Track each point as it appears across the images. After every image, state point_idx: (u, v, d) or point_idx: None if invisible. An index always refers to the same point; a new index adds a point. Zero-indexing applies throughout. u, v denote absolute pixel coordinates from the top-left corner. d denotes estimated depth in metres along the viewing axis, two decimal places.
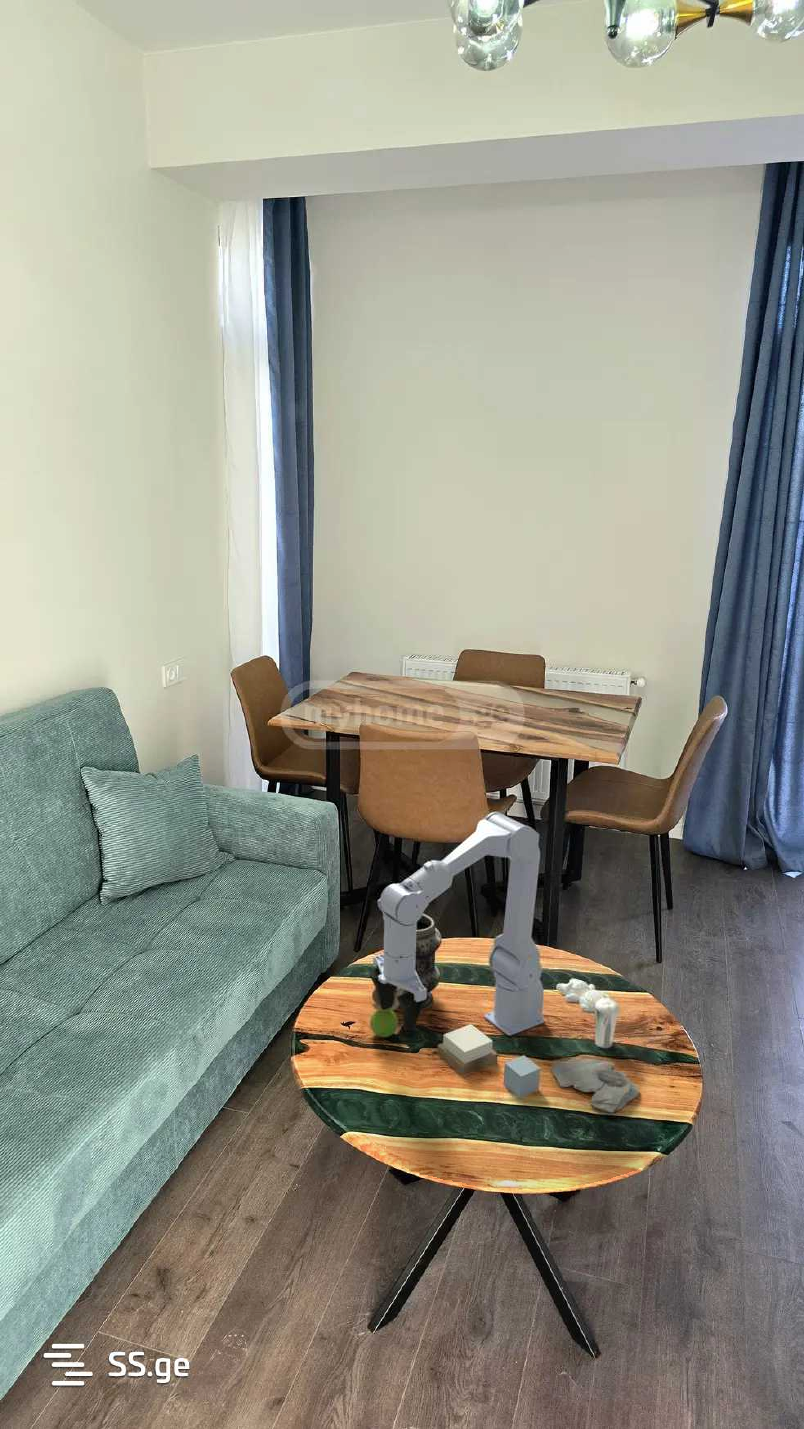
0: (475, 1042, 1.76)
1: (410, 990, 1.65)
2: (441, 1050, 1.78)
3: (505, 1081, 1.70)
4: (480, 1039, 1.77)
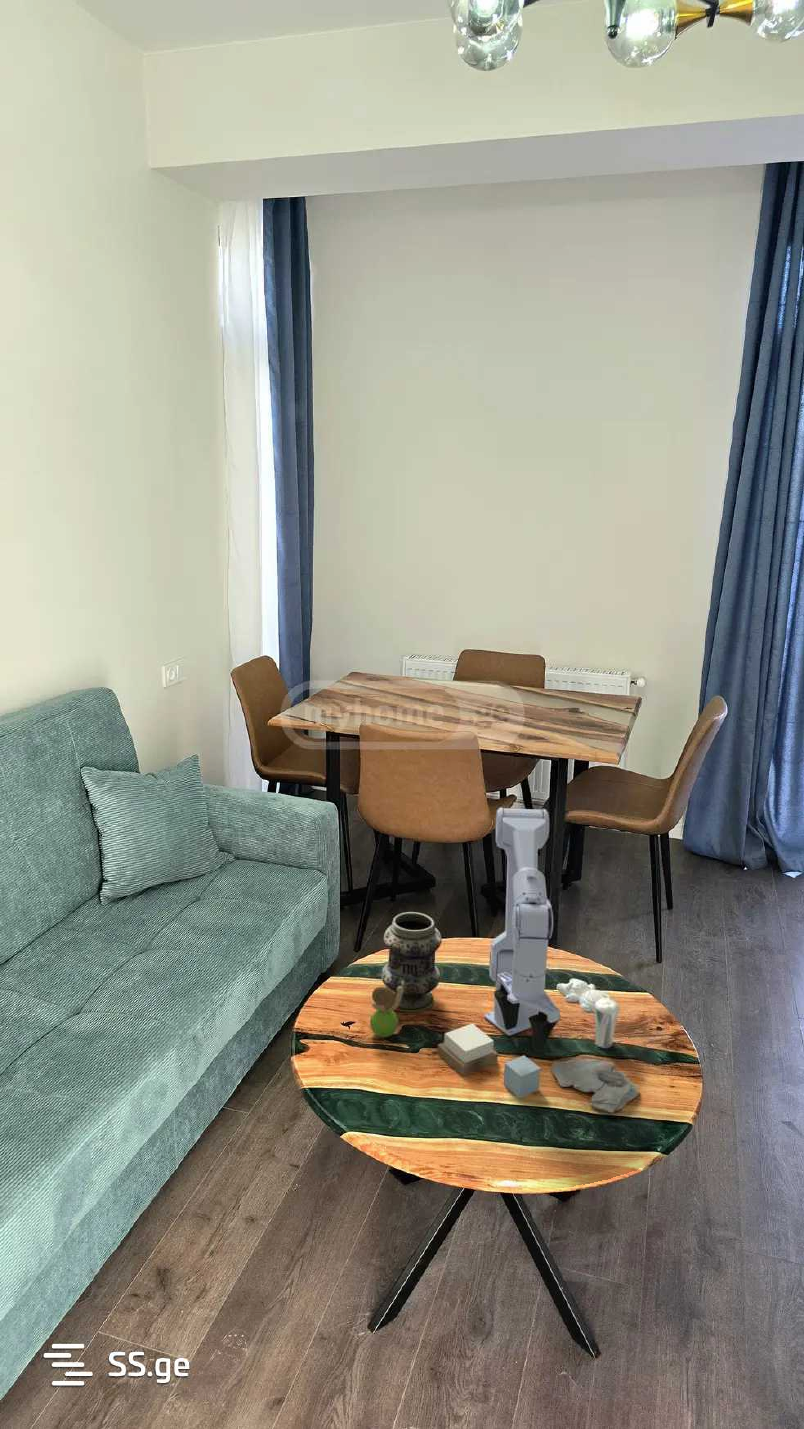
0: (476, 1041, 1.76)
1: (543, 1010, 1.61)
2: (441, 1050, 1.78)
3: (505, 1081, 1.70)
4: (481, 1039, 1.77)
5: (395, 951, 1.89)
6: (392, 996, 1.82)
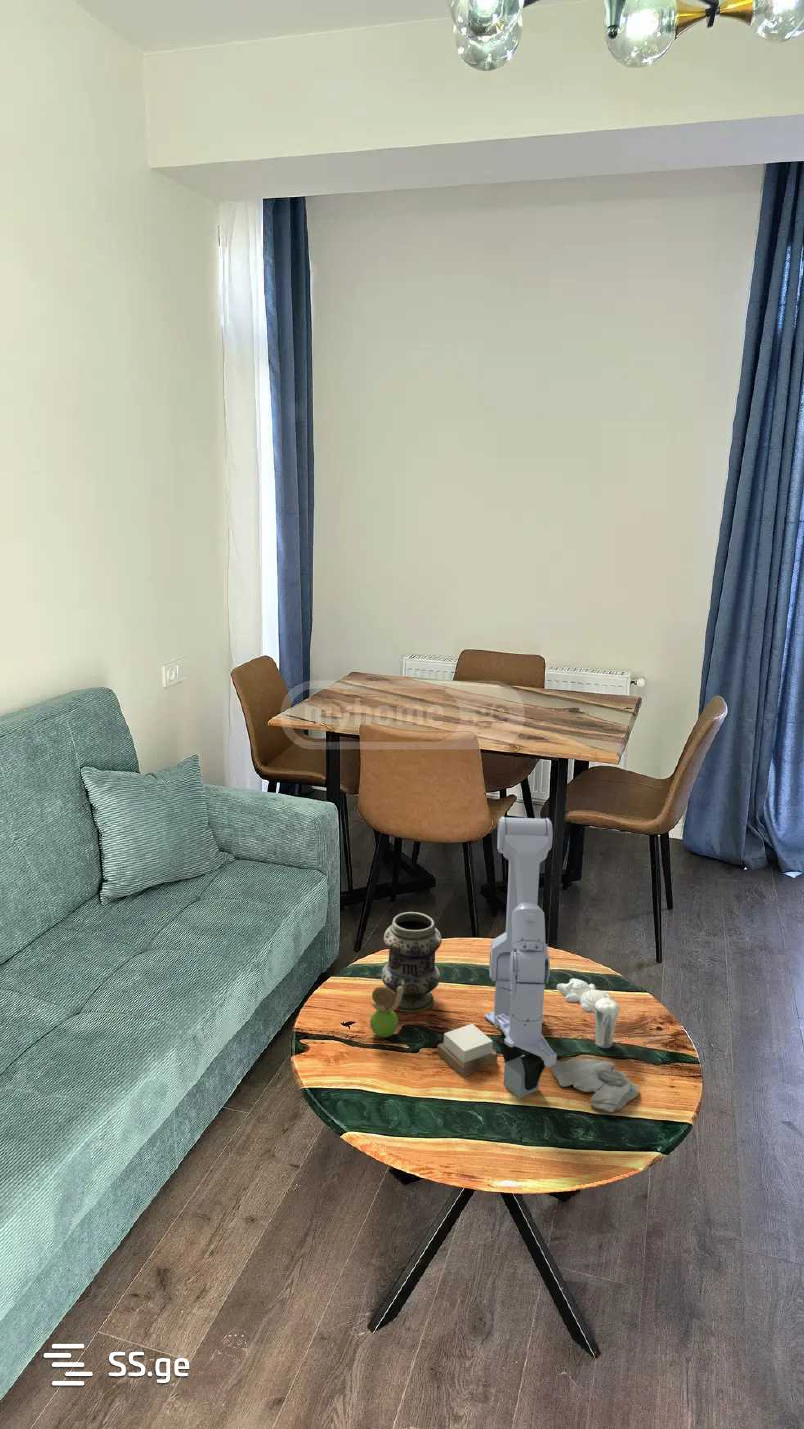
0: (475, 1041, 1.76)
1: (540, 1054, 1.63)
2: (441, 1050, 1.78)
3: (505, 1081, 1.70)
4: (480, 1039, 1.77)
5: (395, 951, 1.89)
6: (392, 996, 1.82)
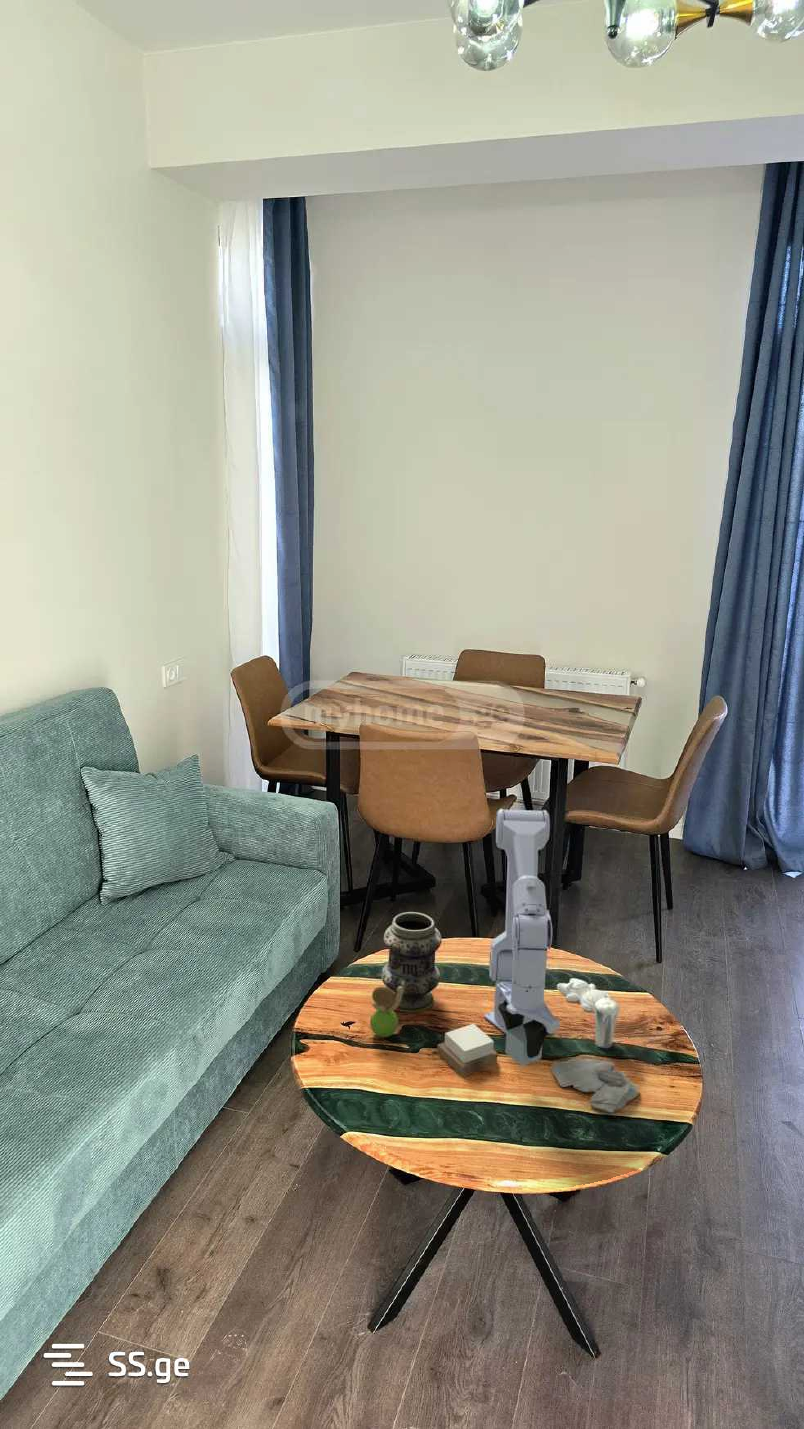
0: (476, 1041, 1.76)
1: (542, 1021, 1.61)
2: (441, 1050, 1.78)
3: (507, 1049, 1.69)
4: (481, 1039, 1.77)
5: (395, 951, 1.89)
6: (392, 996, 1.82)
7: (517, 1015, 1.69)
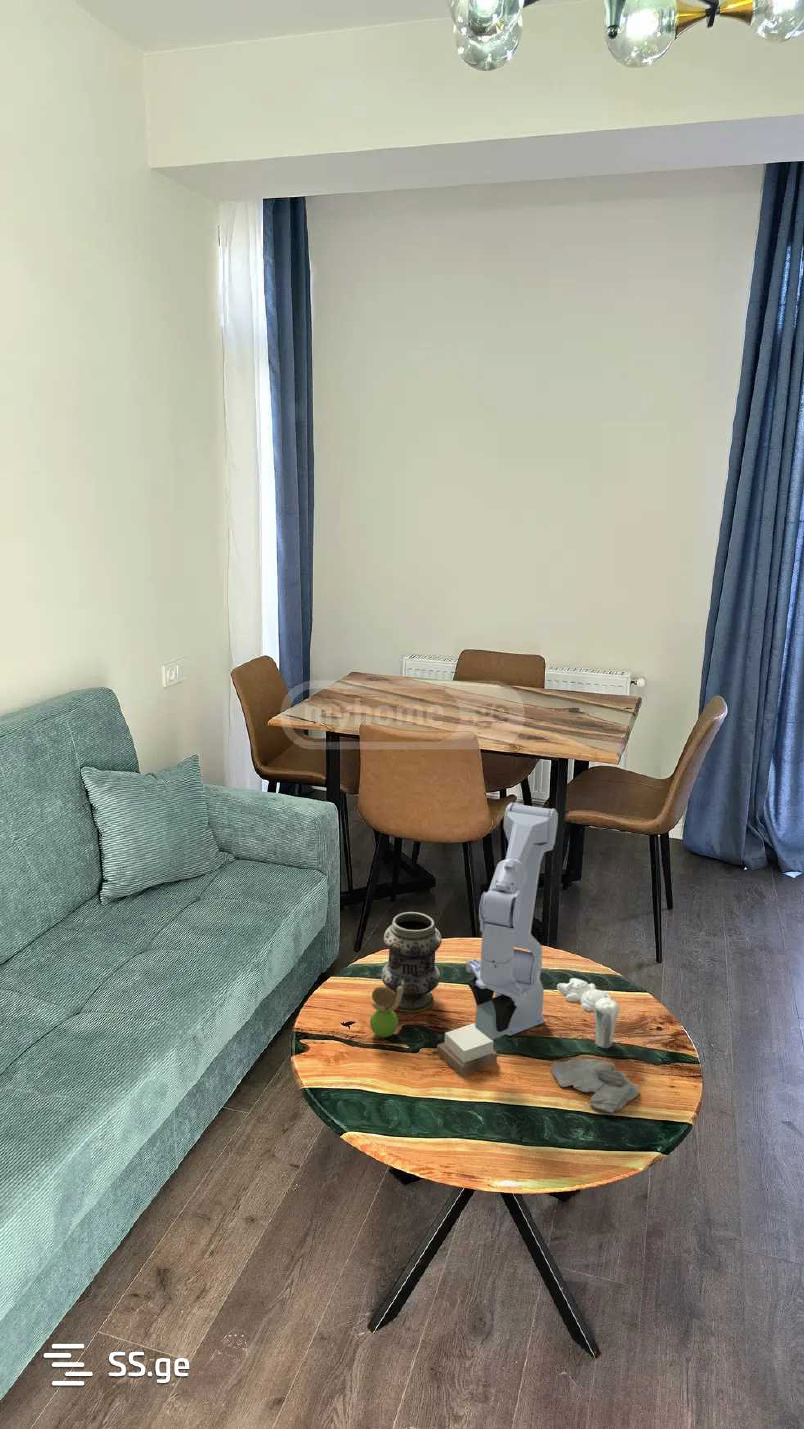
0: (476, 1041, 1.76)
1: (510, 995, 1.65)
2: (441, 1050, 1.78)
3: (477, 1023, 1.73)
4: (481, 1039, 1.77)
5: (395, 951, 1.89)
6: (392, 996, 1.82)
7: (487, 990, 1.73)
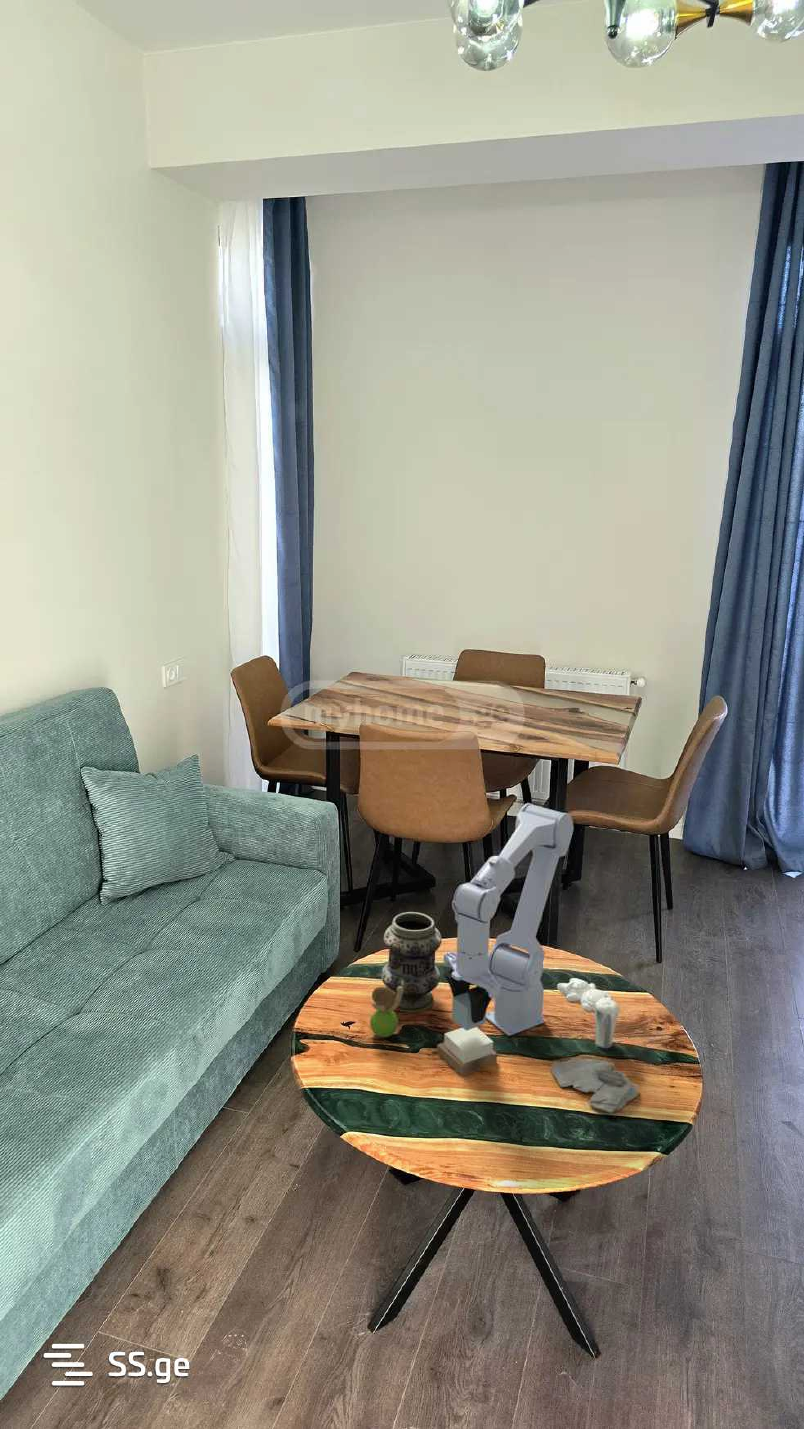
0: (476, 1042, 1.76)
1: (485, 986, 1.69)
2: (440, 1050, 1.78)
3: (453, 1015, 1.76)
4: (481, 1039, 1.77)
5: (395, 951, 1.89)
6: (392, 996, 1.82)
7: (463, 982, 1.77)
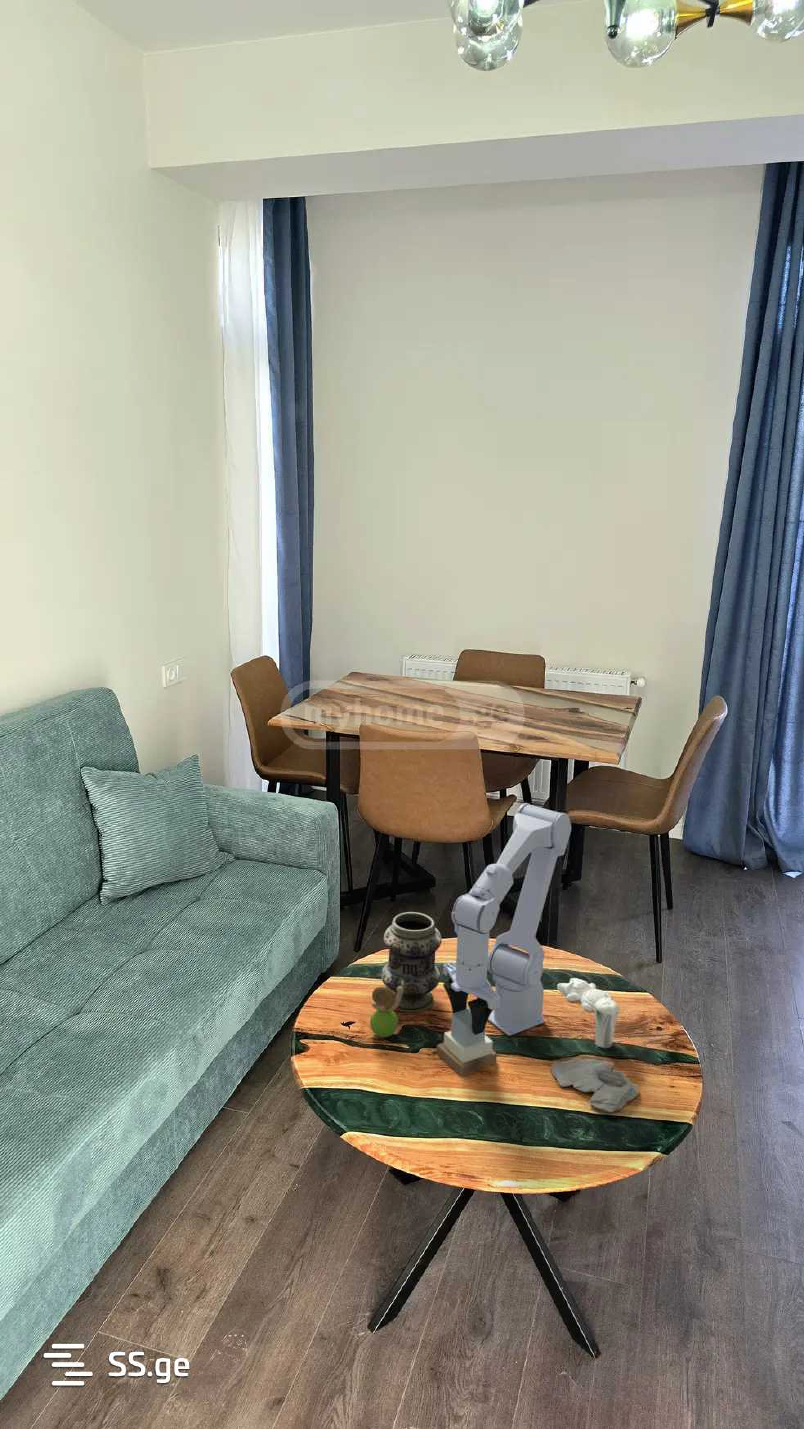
0: None
1: (484, 997, 1.69)
2: (440, 1050, 1.78)
3: (452, 1031, 1.77)
4: None
5: (395, 951, 1.89)
6: (392, 996, 1.82)
7: (461, 992, 1.78)
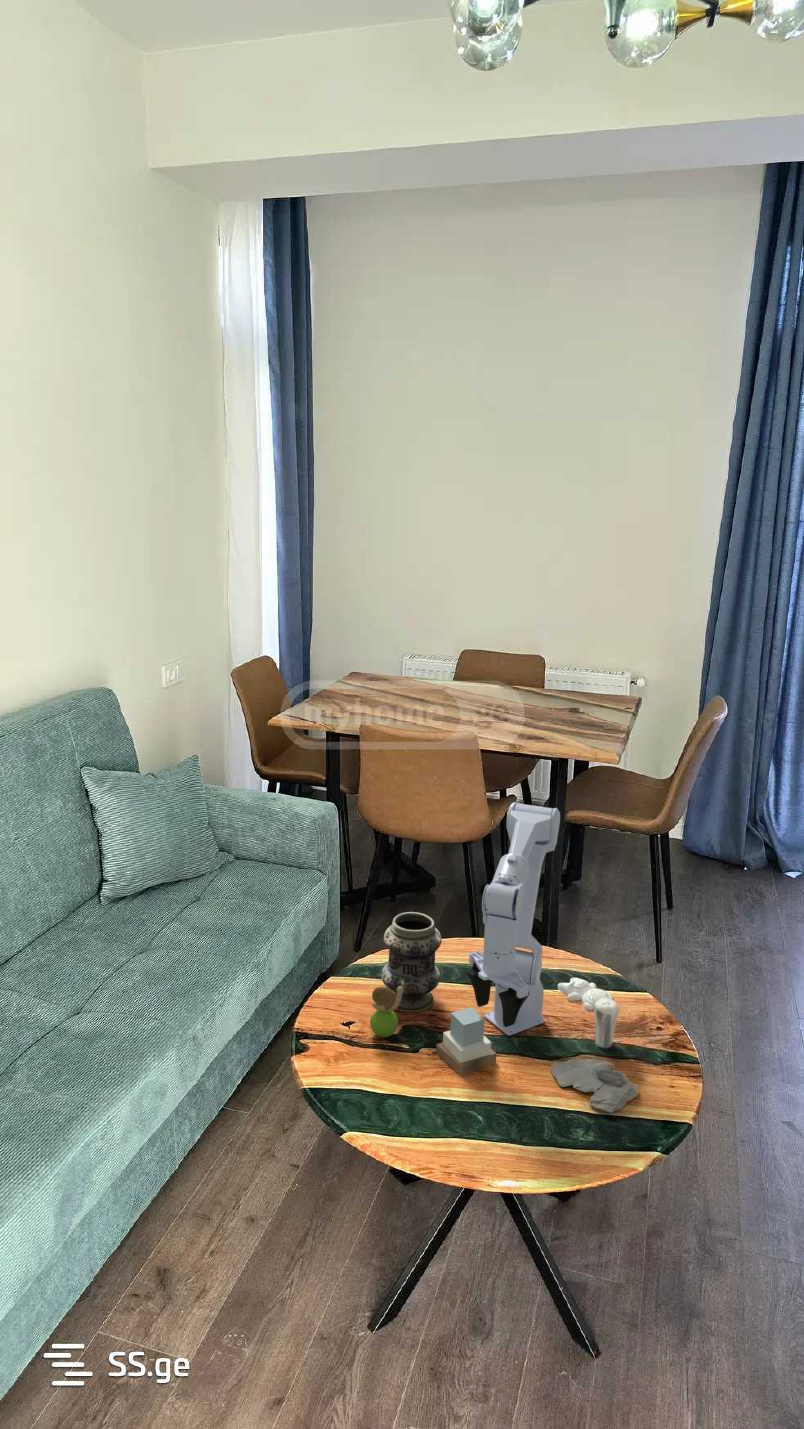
0: None
1: (512, 986, 1.67)
2: (440, 1049, 1.78)
3: (451, 1030, 1.77)
4: None
5: (395, 951, 1.89)
6: (392, 996, 1.82)
7: (485, 979, 1.76)
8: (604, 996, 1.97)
